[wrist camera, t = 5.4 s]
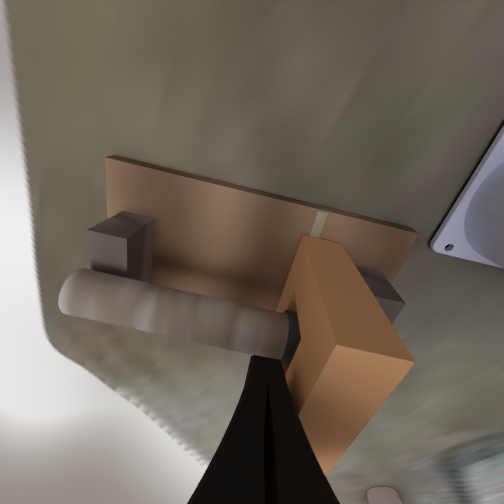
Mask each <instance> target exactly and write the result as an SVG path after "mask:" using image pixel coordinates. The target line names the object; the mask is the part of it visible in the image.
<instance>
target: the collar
mask: <svg viewBox="0 0 504 504" xmlns="http://www.w3.org/2000/svg"><path fill="white" fill-rule="evenodd" d="M286 310H289V311H294V312H297V315H298V322H299V328H300V335H301V341H300V343H299V345H298V348H297V350H296V352H295V354H294V357H293V359H292V361H291V363H290V366H289V367H288V366H283V365H282V366H283V370H284V374H285V378H286V381H287V384H288V387H289V391H290V394H291V397H292V400H293V402H294V405H295V408H296V410H297V413H298V416H299V418H300V421H301V424H302V426H303V428H304V431H305V433H306V436H307V438H308V440H309V443H310V445H311V447H312V449H313V452H314V454H315V456H316V458H317V460H318V462H319V464H320V466H321V468H322V470H323V473H324V475H325V476H326V475H327V473H328V472H329V471H330V470H331V468H332V467H333V466H334V465H335V463H336V462H337V461H338V460H339V458H340V457H341V456H342V455H343V453H344V452H345V451H346V449H347V448H348V447H349V446H350V444H351V443H352V442H353V441H354V439H355V438H356V437H357V436H358V434H359V433H360V432H361V431H362V429H363V428H364V427H365V425H366V424H367V423H368V422H369V420H370V419H371V418H372V417H373V415H374V414H375V413H376V412H377V410H378V409H379V408H380V407H381V405H382V404H383V403H384V401H385V400H386V399H387V398H388V396H389V395H390V394H391V393H392V391H393V390H394V389H395V388H396V386H397V385H398V384H399V383H400V381H401V380H402V379H403V377H404V376H405V375H406V374H407V372H408V371H409V370H410V369H411V367H412V366H413V365H414V364H415V361H414V359H413V357H412V356H411V354H410V353H409V351H408V349H407V348H406V346H405V345H404V343H403V341H402V340H401V338H400V337H399V335H398V333H397V332H396V330H395V329H394V327H393V325H392V324H391V322H390V321H389V319H388V317H387V316H386V314H385V313H384V311H383V309H382V308H381V306H380V305H379V303H378V301H377V300H376V298H375V297H374V295H373V293H372V292H371V290H370V289H369V287H368V285H367V284H366V282H365V281H364V279H363V277H362V276H361V274H360V273H359V271H358V269H357V268H356V266H355V265H354V263H353V261H352V260H351V258H350V257H349V255H348V253H347V252H346V250H345V248H344V247H343V245H342V244H340V243H336V242H331V241H327V240H323V239H319V238H315V237H310V236H306V235H302V238H301V241H300V244H299V247H298V249H297V252H296V255H295V258H294V261H293V264H292V267H291V269H290V272H289V275H288V278H287V281H286V284H285V287H284V289H283V292H282V295H281V298H280V301H279V304H278V307H277V309H276V311H277V312H281V313H284V312H285V311H286Z"/></svg>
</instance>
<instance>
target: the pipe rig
mask: <svg viewBox="0 0 504 504" xmlns="http://www.w3.org/2000/svg"><path fill="white" fill-rule="evenodd" d="M104 160H105V179H106V199H107V218H108V219H107V220H105V221H103V222H101V223H99V224H98V225H96V226H94V227H92V228H90V229H88V241H89V251H90V262H91V270H90V269H85V268H81V269H78V270H76V271H75V272H73V273H72V274H71V275H70V276H69V277H68V278H67V280H66V281H65V283H64V285H63V287H62V289H61V292H60V295H59V308H60V310H61V312H62V313H64V314H68V315H72V316H77V317H82V318H86V319H91V320H95V321H100V322H105V323H109V324H114V325H119V326H123V327H128V328H132V329H137V330H142V331H146V332H151V333H155V334H160V335H165V336H169V337H174V338H179V339H183V340H188V341H192V342H197V343H202V344H206V345H211V346H216V347H220V348H225V349H229V350H234V351H239V352H243V353H248V354H252V355H257V356H263V357H269V358H275V359H280V360H281V362H282V365H283V366H288V367H289V366H290V363H291V361H292V359H293V357H294V354H295V352H296V350H297V348H298V345H299V343H300V341H301V335H300V328H299V322H298V315H297V312H294V311H289V310H286V311H285V312H284V313H281V312H277V311H276V309H277V307H278V304H279V301H280V298H281V295H282V292H283V289H284V287H285V284H286V281H287V278H288V275H289V272H290V269H291V267H292V264H293V261H294V258H295V255H296V252H297V249H298V247H299V244H300V241H301V238H302V235H306V236H310V237H315V238H319V239H323V240H327V241H331V242H336V243H340V244H342V245H343V247H344V248H345V250H346V252H347V253H348V255H349V257H350V258H351V260H352V261H353V263H354V265H355V266H356V268H357V269H358V271H359V273H360V274H361V276H362V277H363V279H364V281H365V282H366V284H367V285H368V287H369V289H370V290H371V292H372V293H373V295H374V297H375V298H376V300H377V301H378V303H379V305H380V306H381V308H382V309H383V311H384V313H385V314H386V316H387V317H388V319H389V321H390V322H391V324H392V323H393V322H394V320H395V319H396V317H397V316H398V314H399V313H400V311H401V310H402V308H403V306H404V305H405V302H404V301H403V300H402V298H401V297H400V296H399V294H398V293H397V292H396V291H395V289H394V288H393V287H392V285H391V284H390V283H391V281H392V279H393V278H394V276H395V274H396V272H397V271H398V269H399V267H400V266H401V264H402V262H403V261H404V259H405V257H406V255H407V254H408V252H409V250H410V249H411V247H412V245H413V244H414V242H415V240H416V239H417V237H418V235H419V233H417V232H416V231H415V230H413V229H412V228H409V227H405V226H401V225H397V224H393V223H389V222H385V221H381V220H377V219H373V218H368V217H364V216H360V215H356V214H352V213H348V212H344V211H340V210H336V209H332V208H327V207H323V206H319V205H315V204H311V203H307V202H303V201H299V200H295V199H291V198H286V197H282V196H278V195H274V194H270V193H266V192H262V191H258V190H254V189H250V188H245V187H241V186H237V185H233V184H229V183H225V182H221V181H217V180H213V179H209V178H204V177H200V176H196V175H192V174H188V173H184V172H180V171H176V170H172V169H168V168H163V167H159V166H155V165H151V164H147V163H143V162H139V161H135V160H131V159H127V158H122V157H118V156H108V157H104Z"/></svg>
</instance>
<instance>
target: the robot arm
mask: <svg viewBox="0 0 504 504" xmlns="http://www.w3.org/2000/svg"><path fill="white" fill-rule="evenodd" d="M448 244H450V245H449V246H448V247H447V248H445V246H446V245H448ZM430 248H431V249H432V250H433V251H435V252H437V253H441V254H446V255H450V256H454V257H458V258H462V259H466V260H471V261H475V262H479V263H483V264H487V265H491V266H495V267H500V268H503V269H504V125H503V127H502V129H501V130H500V132H499V133H498V135H497V137H496V138H495V140H494V141H493V143H492V145H491V146H490V148H489V149H488V151H487V153H486V154H485V156H484V157H483V159H482V161H481V162H480V164H479V165H478V167H477V169H476V170H475V172H474V174H473V175H472V177H471V178H470V180H469V182H468V183H467V185H466V186H465V188H464V190H463V191H462V193H461V194H460V196H459V198H458V199H457V201H456V202H455V204H454V206H453V207H452V209H451V210H450V212H449V214H448V215H447V217H446V218H445V220H444V222H443V223H442V225H441V226H440V228H439V230H438V231H437V233H436V234H435V236H434V238H433V239H432V241H431V243H430ZM187 504H340V503H339V501H338V499H337V498H336V496H335V494H334V492H333V490H332V488H331V486H330V484H329V482H328V480H327V478H326V476H325V475H324V473H323V470H322V468H321V466H320V464H319V462H318V460H317V458H316V456H315V454H314V452H313V449H312V447H311V445H310V443H309V440H308V438H307V436H306V433H305V431H304V428H303V426H302V424H301V421H300V418H299V416H298V413H297V410H296V408H295V405H294V402H293V400H292V397H291V394H290V391H289V387H288V384H287V381H286V378H285V374H284V370H283V366H282V362H281V360H280V359H275V358H269V357H263V356H257V355H253V356H251V359H250V363H249V367H248V372H247V376H246V381H245V386H244V389H243V391H242V394H241V397H240V400H239V402H238V405H237V407H236V410H235V412H234V414H233V417H232V419H231V421H230V423H229V426H228V428H227V430H226V432H225V434H224V436H223V438H222V441H221V443H220V445H219V447H218V449H217V451H216V453H215V454H214V456H213V458H212V460H211V462H210V464H209V466H208V468H207V470H206V471H205V473H204V475H203V477H202V479H201V481H200V482H199V484H198V486H197V488H196V489H195V491H194V493H193V494H192V496H191V498H190V500H189V502H188V503H187Z"/></svg>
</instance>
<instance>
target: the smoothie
mask: <svg viewBox="0 0 504 504" xmlns="http://www.w3.org/2000/svg"><path fill="white" fill-rule="evenodd" d="M367 498H368V504H402V503H401V500H400V498H399V496H398V494H397V491H396V490H395V489H393V488H390V487H374V488H371V489H369V490H368V491H367Z"/></svg>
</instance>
